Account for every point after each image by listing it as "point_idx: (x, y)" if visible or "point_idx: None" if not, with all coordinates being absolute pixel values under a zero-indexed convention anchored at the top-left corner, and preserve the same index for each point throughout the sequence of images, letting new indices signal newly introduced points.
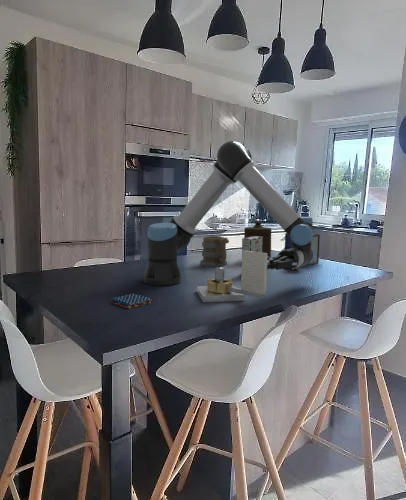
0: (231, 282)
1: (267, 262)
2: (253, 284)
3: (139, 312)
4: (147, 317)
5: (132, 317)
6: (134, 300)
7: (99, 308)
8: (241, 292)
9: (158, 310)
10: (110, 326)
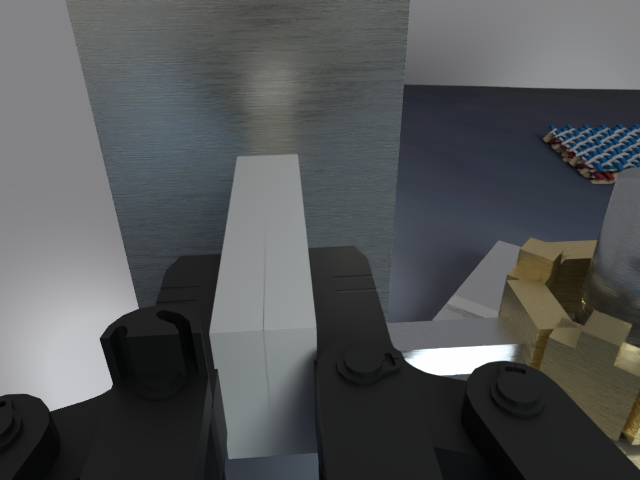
0: (534, 323)
1: (218, 284)
2: None
3: (490, 141)
4: (431, 138)
5: (455, 127)
6: (588, 139)
7: (584, 119)
8: None
9: (479, 163)
10: (421, 103)
